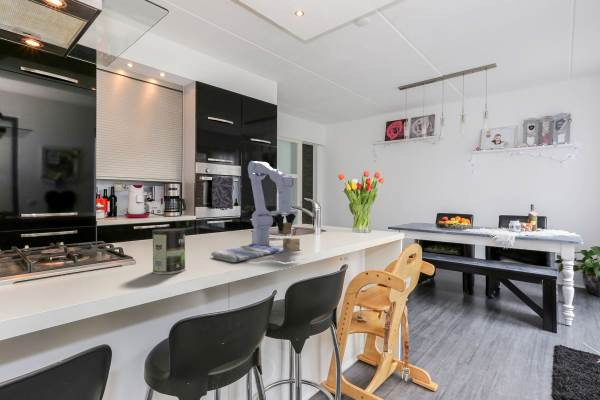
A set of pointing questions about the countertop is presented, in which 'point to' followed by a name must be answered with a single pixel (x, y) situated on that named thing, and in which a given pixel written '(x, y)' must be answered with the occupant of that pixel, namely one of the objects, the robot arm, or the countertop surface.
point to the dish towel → (243, 253)
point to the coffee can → (168, 250)
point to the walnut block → (286, 229)
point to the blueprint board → (282, 249)
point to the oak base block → (291, 243)
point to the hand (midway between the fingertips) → (284, 230)
